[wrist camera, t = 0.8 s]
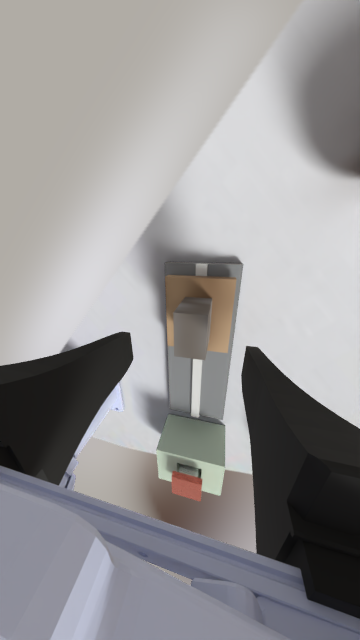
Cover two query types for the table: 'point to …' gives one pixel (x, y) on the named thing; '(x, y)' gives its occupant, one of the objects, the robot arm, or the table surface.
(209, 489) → the pale green block
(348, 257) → the table surface
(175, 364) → the track
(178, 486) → the button
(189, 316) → the carriage
